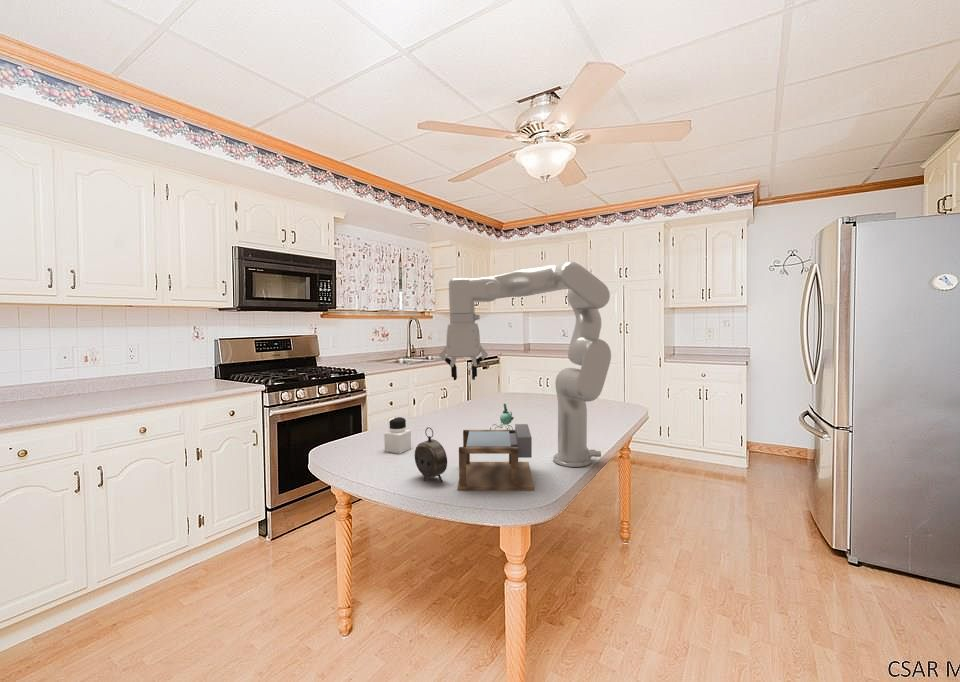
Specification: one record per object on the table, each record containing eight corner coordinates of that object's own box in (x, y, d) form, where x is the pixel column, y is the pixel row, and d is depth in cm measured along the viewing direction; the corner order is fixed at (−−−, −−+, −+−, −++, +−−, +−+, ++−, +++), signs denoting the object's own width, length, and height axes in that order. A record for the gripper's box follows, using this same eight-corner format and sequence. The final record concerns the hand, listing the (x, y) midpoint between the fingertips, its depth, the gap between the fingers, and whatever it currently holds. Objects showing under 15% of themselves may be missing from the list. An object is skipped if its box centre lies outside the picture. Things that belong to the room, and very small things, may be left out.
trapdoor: (527, 441, 145) (527, 423, 145) (531, 458, 129) (531, 437, 129) (469, 441, 146) (469, 423, 145) (466, 458, 130) (466, 437, 129)
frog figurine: (479, 435, 184) (482, 399, 183) (521, 437, 187) (524, 402, 187) (484, 441, 174) (487, 404, 174) (528, 443, 178) (531, 407, 177)
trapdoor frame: (528, 464, 148) (528, 429, 147) (534, 490, 127) (534, 449, 126) (462, 464, 149) (462, 429, 148) (457, 490, 128) (456, 449, 127)
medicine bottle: (411, 448, 167) (410, 417, 166) (400, 454, 160) (399, 421, 159) (395, 446, 170) (395, 415, 169) (384, 451, 163) (383, 419, 162)
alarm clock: (448, 481, 134) (447, 428, 133) (435, 487, 130) (434, 432, 129) (425, 472, 142) (424, 422, 141) (411, 477, 138) (410, 426, 137)
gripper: (490, 318, 137) (492, 376, 139) (435, 319, 138) (438, 378, 139) (490, 318, 130) (492, 380, 131) (432, 320, 130) (434, 382, 132)
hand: (464, 378), depth 135 cm, fingers open, 4 cm apart
